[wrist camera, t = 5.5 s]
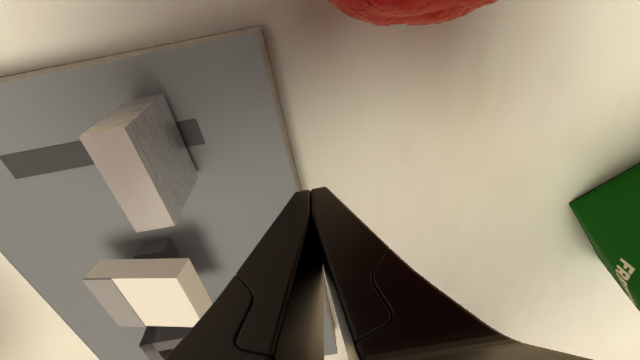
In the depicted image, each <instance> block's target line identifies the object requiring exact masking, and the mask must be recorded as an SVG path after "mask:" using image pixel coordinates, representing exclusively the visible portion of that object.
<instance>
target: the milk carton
mask: <svg viewBox="0 0 640 360" xmlns="http://www.w3.org/2000/svg"><path fill="white" fill-rule="evenodd" d="M570 206H571V208H572V210H573V212H574V213H575V215H576V217H577V219H578V221H579V222H580V224H581V226H582V228H583V230H584V231H585V233H586V235H587V237H588V239H589V240H590V242H591V244H592V246H593V248H594V249H595V251H596V253H597V255H598V257H599V258H600V260H601V262H602V263H603V264H604V266H605V267H606V268H607V270H608V271H609V272H610V273H611V275H612V276H613V277H614V279H615V280H616V281H617V283H618V284H619V285H620V287H621V288H622V289H623V291H624V292H625V293H626V295H627V296H628V297H629V299H630V300H631V301H632V302H633V304H634V305H635V306H636V308H637V309H638V310H639V311H640V163H639V164H638V165H636V166H634V167H632V168H631V169H629V170H627V171H625V172H624V173H622V174H620V175H618V176H617V177H615V178H613V179H611V180H610V181H608V182H606V183H605V184H603V185H601V186H599V187H598V188H596V189H594V190H592V191H591V192H589V193H587V194H585V195H584V196H582V197H580V198H578V199H577V200H575V201H573V202H572V203H570Z"/></svg>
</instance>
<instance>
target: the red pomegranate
mask: <svg viewBox="0 0 640 360" xmlns="http://www.w3.org/2000/svg"><path fill="white" fill-rule="evenodd" d="M328 1H330V2H331V3H332V4H334V5H335V6H336V7H338V8H339V9H340V10H341V11H342V12H344V13H345V14H347V15H348V16H349V17H353V18H356V19H359V20H362V21H365V22H369V23H372V24H375V25H379V26H387V25H394V24H407V25H427V24H437V23H442V22H445V21H449V20H453V19H456V18H458V17H461V16H464V15H466V14H468V13H470V12H471V11H473V10H475V9H477V8H480V7H482V6H484V5H488V4H492V3H494V2H496V1H498V0H328Z"/></svg>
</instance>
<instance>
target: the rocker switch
mask: <svg viewBox="0 0 640 360" xmlns="http://www.w3.org/2000/svg"><path fill="white" fill-rule="evenodd" d="M82 281H83V282H84V283H85V285H86V286H87V287H88V289H89V290H90V291H91V292H92V294H93V295H94V296H95V297H96V299H97V300H98V301H99V302H100V304H101V305H102V306H103V307H104V309H105V310H106V311H107V312H108V314H109V315H110V316H111V317H112V319H113V320H114V321H115V322H116V324H117V325H118V326H125V327H145V326H169V327H193V326H194V325H195V324H196V323H197V322H198V321H199V320H200V318H201V317H202V316H203V315H204V314H205V312H206V311H207V310H208V309H209V308H210V307H211V305H212V304H213V303H212V301H211V299H210V297H209V295H208V293H207V292H206V290H205V288H204V286H203V284H202V282H201V280H200V278H199V276H198V274H197V272H196V271H195V269H194V267H193V265H192V263H191V261H190V259H189V258H169V259H120V260H100V261H99V262H98V263H97V264H96V265H95V266H94V267H93V268H92V269H91V270H90V271H89V272H88V274H87V275H86V276H85V277H84V278H83V279H82Z"/></svg>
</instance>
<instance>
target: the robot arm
mask: <svg viewBox="0 0 640 360" xmlns="http://www.w3.org/2000/svg"><path fill="white" fill-rule="evenodd" d="M323 266H324V268H323ZM324 270H325V274H326V278H327V282H328V286H329V289H330V293H331V297H332V300H333V304H334V307H335V311H336V315H337V318H338V322H339V325H340V329H341V333H342V336H343V340H344V344H345V347H346V351H347V354H348V358H349V360H592V359H588V358H584V357H580V356H575V355H571V354H567V353H563V352H558V351H554V350H550V349H546V348H541V347H537V346H533V345H529V344H525V343H522V342H519V341H516V340H514V339H512V338H510V337H508V336H505V335H503V334H502V333H500V332H498V331H496V330H495V329H493V328H492V327H490V326H489V325H487V324H486V323H484V322H483V321H481V320H480V319H479V318H477V317H476V316H475V315H473V314H472V313H471V312H469V311H468V310H466V309H465V308H464V307H462V306H461V305H460V304H458V303H457V302H456V301H454V300H453V299H451V298H450V297H449V296H447V295H446V294H445V293H443V292H442V291H441V290H439V289H438V288H436V287H435V286H434V285H432V284H431V283H430V282H429V281H427V280H426V279H425V278H423V277H422V276H421V275H419V274H418V273H417V272H416V271H414V270H413V269H412V268H411V267H410V266H409V265H408V264H407V263H405V262H404V261H403V260H402V259H401V258H400V257H399V256H398V255H397V254H396V253H395V252H394V251H393V250H392V249H389V247H388V246H387V245H386V244H385V243H384V242H383V241H382V240H381V239H380V238H379V237H378V236H377V235H376V234H375V233H374V232H373V231H372V230H371V229H369V228H368V227H367V226H366V225H365V224H364V223H363V222H362V221H361V220H360V219H359V218H358V217H357V216H356V215H355V214H354V213H353V212H352V211H351V210H350V209H349V208H348V207H347V206H345V205H344V204H343V203H342V202H341V201H340V200H339V199H338V198H337V197H336V196H335V195H334V194H333V193H332V192H331V191H330V190H329V189H328V188H327V187H321V188H315V189H312V190H311V191H310V190H304V191H298V192H295V193H294V194H293V196H292V197H291V199H290V200H289V201H288V203H287V204H286V205H285V207H284V208H283V210H282V211H281V212H280V214H279V215H278V216H277V218H276V219H275V221H274V222H273V223H272V225H271V226H270V227H269V229H268V230H267V231H266V233H265V234H264V236H263V237H262V238H261V240H260V241H259V242H258V244H257V245H256V247H255V248H254V249H253V251H252V252H251V253H250V255H249V256H248V257H247V259H246V260H245V262H244V263H243V264H242V266H241V267H240V268H239V270H238V271H237V273H236V275H235V276H233V278H232V279H231V281H230V282H229V283H228V285H227V286H226V287H225V289H224V290H223V291H222V293H221V294H220V295H219V296H218V298H217V299H216V300H215V302H214V303H213V304H212V305H211V307H210V308H209V309H208V310H207V311H206V312H205V314H204V315H203V316H202V317H201V318H200V320H199V321H198V322H197V323H196V324H195V325H194V326H193V328H192V329H191V330H190V331H189V332H188V333H187V334H186V335H185V337H184V338H183V339H182V340H181V341H180V342H179V343H178V344H177V346H176V347H175V348H174V349H173V350H172V351H171V352H170V353H169V355H168V356H167V357H166V358H165V359H164V360H324Z"/></svg>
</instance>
